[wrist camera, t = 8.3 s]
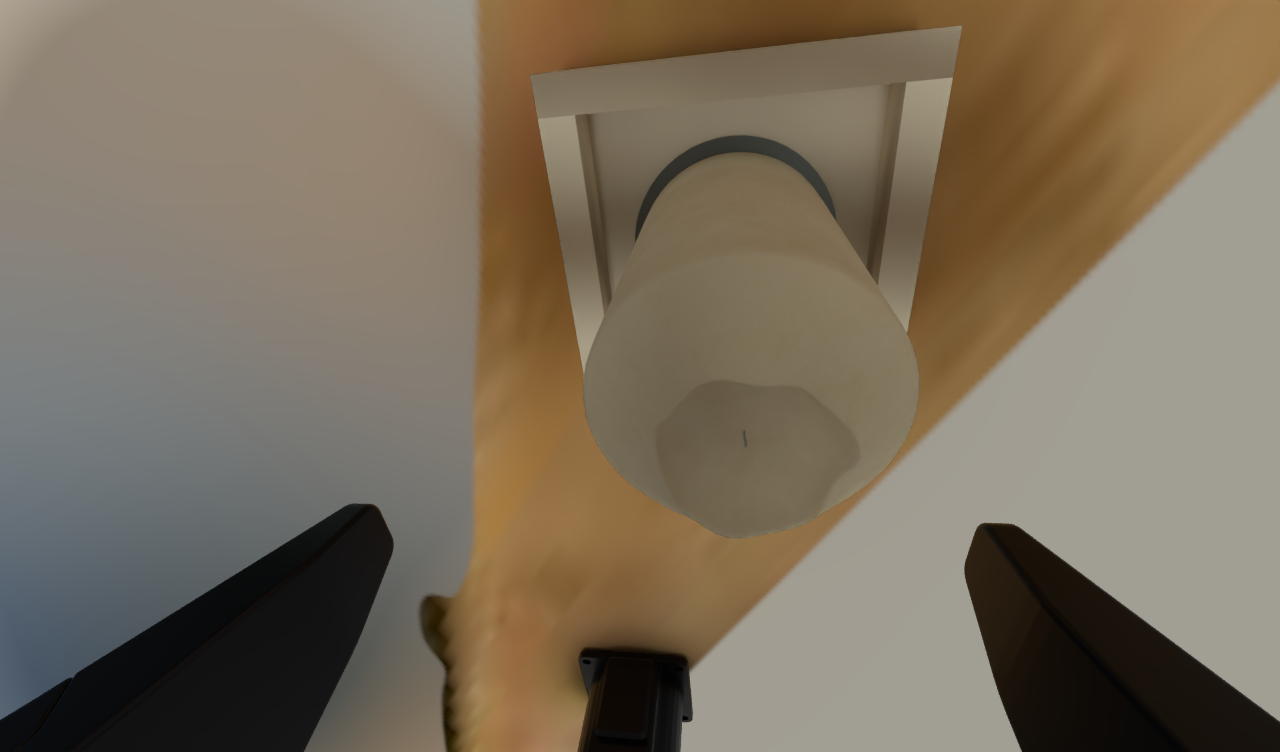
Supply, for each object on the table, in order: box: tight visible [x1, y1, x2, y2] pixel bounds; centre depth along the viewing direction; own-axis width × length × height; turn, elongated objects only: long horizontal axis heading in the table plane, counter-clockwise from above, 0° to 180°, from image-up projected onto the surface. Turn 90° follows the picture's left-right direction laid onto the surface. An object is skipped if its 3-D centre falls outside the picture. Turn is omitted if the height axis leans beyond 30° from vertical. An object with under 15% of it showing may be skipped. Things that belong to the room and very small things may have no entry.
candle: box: [583, 152, 920, 539], centre depth 12 cm, size 6×6×10 cm
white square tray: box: [530, 26, 962, 373], centre depth 16 cm, size 10×10×3 cm
